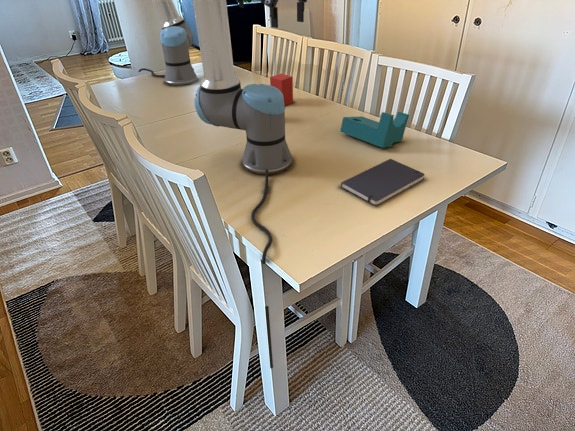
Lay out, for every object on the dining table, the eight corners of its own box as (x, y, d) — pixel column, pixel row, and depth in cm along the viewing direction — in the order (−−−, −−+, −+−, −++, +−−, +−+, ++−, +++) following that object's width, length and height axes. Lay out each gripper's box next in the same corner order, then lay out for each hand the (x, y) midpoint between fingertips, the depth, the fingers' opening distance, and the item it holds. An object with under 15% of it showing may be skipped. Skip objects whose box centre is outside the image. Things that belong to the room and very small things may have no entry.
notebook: (389, 163, 124) (340, 187, 113) (390, 158, 123) (341, 182, 112) (424, 178, 116) (375, 206, 105) (425, 174, 115) (376, 201, 104)
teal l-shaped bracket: (400, 145, 137) (409, 114, 132) (382, 147, 129) (391, 115, 125) (358, 130, 148) (365, 101, 143) (340, 131, 140) (346, 101, 136)
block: (293, 102, 169) (292, 76, 163) (282, 106, 165) (281, 80, 159) (281, 98, 173) (280, 73, 167) (271, 102, 169) (269, 76, 163)
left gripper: (264, -50, 187) (266, 1, 199) (221, -47, 173) (226, 8, 185) (275, -50, 183) (277, 2, 195) (232, -47, 168) (237, 10, 181)
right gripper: (303, -47, 145) (303, 18, 157) (251, -43, 131) (255, 28, 143) (319, -46, 141) (317, 20, 153) (267, -42, 126) (270, 31, 139)
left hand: (252, 5), depth 190 cm, fingers open, 13 cm apart
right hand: (287, 24), depth 148 cm, fingers open, 13 cm apart
